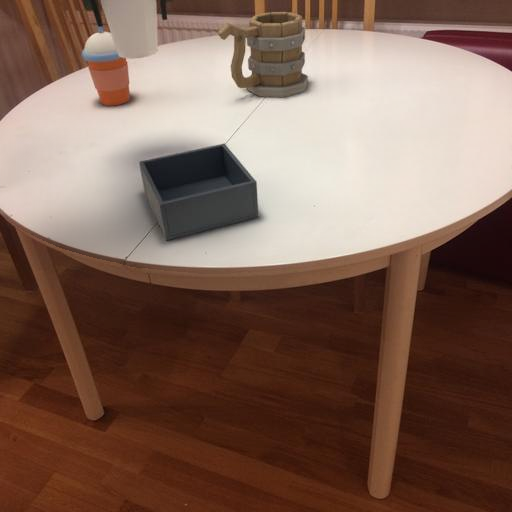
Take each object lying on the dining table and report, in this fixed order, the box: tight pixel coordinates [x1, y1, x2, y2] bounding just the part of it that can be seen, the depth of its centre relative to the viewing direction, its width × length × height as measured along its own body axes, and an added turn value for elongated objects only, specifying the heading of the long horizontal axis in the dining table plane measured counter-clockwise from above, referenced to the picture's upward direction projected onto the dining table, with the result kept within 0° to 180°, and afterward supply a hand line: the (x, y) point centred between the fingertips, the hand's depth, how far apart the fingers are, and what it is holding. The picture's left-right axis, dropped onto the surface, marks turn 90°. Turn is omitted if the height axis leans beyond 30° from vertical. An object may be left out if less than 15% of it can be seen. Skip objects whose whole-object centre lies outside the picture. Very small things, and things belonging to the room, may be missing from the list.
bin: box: [138, 143, 259, 241], centre depth 74 cm, size 13×13×6 cm
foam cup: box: [99, 0, 159, 60], centre depth 79 cm, size 10×9×13 cm
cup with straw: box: [81, 24, 131, 106], centre depth 106 cm, size 9×9×18 cm
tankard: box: [217, 11, 309, 98], centre depth 108 cm, size 20×13×15 cm, turn 123°
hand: (131, 15), depth 83 cm, fingers closed on foam cup, 9 cm apart
